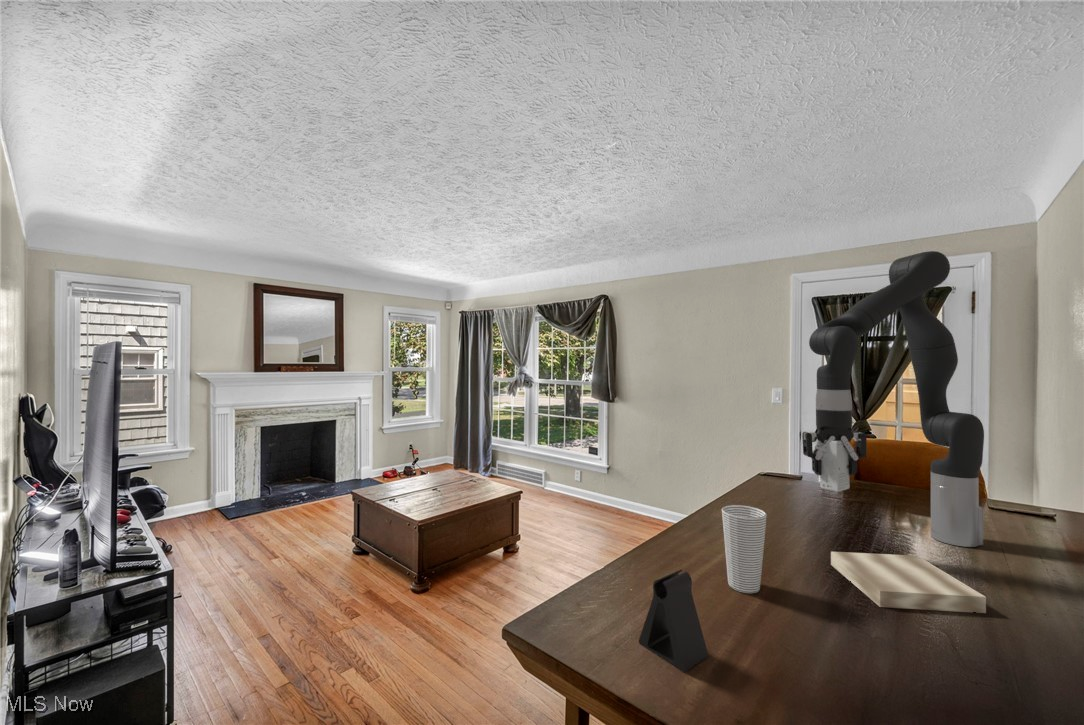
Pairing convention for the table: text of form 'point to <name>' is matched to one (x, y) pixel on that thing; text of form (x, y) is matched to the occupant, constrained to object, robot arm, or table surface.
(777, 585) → the table surface
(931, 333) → the robot arm
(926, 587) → the base block
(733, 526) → the cup
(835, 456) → the skincare box
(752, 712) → the table surface
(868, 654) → the table surface
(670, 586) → the phone stand
